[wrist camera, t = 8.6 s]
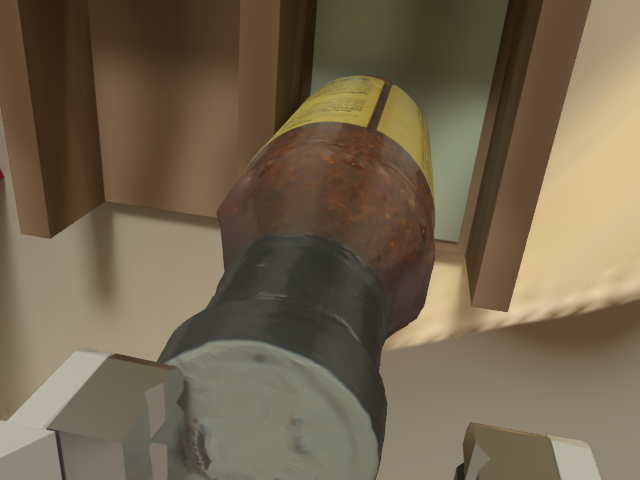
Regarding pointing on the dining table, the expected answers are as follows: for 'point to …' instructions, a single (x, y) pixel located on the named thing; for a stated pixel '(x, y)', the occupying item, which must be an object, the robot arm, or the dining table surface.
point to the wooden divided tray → (282, 103)
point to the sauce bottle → (310, 293)
